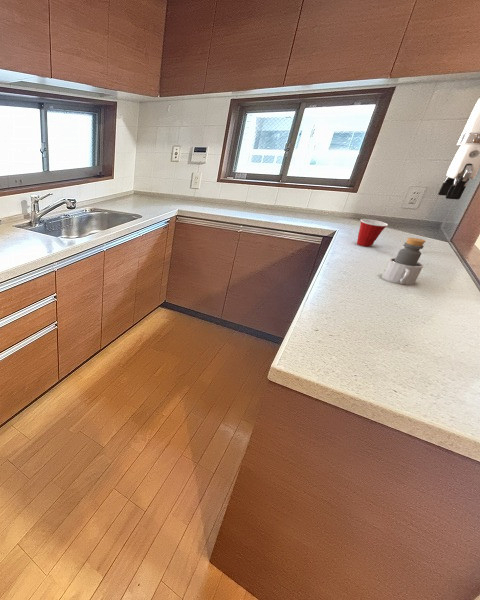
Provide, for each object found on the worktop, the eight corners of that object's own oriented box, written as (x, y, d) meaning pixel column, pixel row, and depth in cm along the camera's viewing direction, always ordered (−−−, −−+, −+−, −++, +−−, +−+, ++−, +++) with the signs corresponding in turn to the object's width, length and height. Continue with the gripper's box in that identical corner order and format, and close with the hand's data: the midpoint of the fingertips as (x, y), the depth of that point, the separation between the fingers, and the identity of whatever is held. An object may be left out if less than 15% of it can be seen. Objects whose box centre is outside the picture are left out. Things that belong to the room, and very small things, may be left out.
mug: (380, 273, 127) (388, 256, 124) (411, 279, 122) (420, 261, 119) (384, 283, 118) (392, 265, 115) (418, 290, 113) (428, 271, 110)
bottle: (407, 282, 118) (428, 242, 111) (386, 278, 121) (405, 239, 114) (407, 278, 121) (427, 239, 115) (387, 274, 125) (405, 236, 118)
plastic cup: (370, 249, 156) (381, 224, 151) (346, 243, 165) (355, 219, 159) (382, 247, 160) (394, 222, 155) (358, 241, 169) (368, 218, 163)
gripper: (505, 139, 92) (472, 201, 100) (483, 140, 105) (456, 195, 112) (467, 139, 96) (438, 199, 104) (451, 140, 109) (426, 193, 116)
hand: (447, 197), depth 108 cm, fingers open, 9 cm apart
